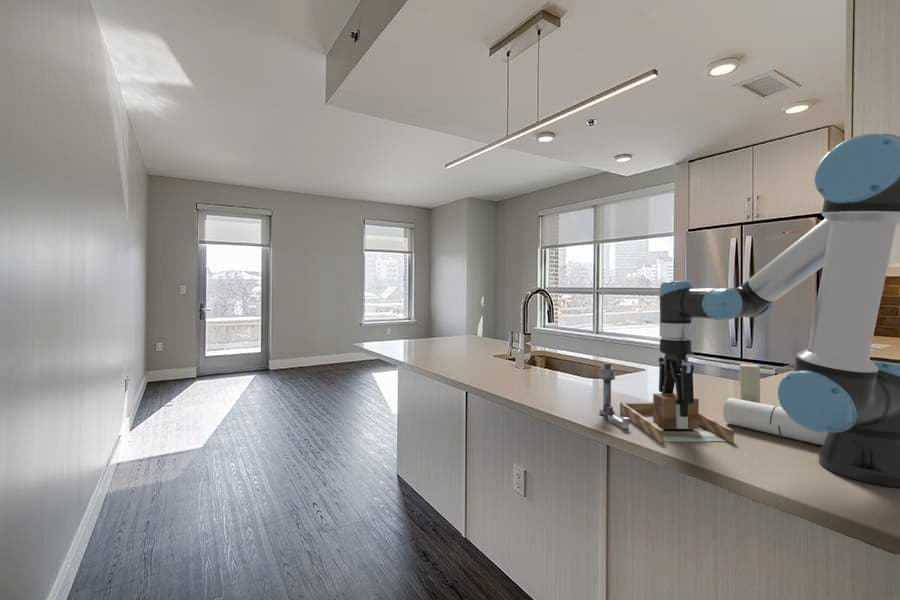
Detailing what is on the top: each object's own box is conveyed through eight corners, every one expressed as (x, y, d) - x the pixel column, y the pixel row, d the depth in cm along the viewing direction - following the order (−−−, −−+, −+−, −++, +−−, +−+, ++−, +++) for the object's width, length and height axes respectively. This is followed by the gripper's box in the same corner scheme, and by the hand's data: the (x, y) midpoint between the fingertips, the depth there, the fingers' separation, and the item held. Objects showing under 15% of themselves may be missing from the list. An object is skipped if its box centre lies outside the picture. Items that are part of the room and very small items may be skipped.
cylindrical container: (725, 428, 117) (846, 457, 96) (721, 404, 115) (844, 429, 95) (736, 416, 121) (855, 442, 100) (733, 393, 119) (853, 415, 99)
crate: (698, 429, 111) (698, 398, 111) (663, 429, 111) (663, 398, 111) (685, 422, 117) (686, 393, 117) (653, 422, 117) (653, 393, 117)
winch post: (617, 416, 125) (617, 364, 125) (602, 416, 125) (602, 364, 125) (611, 411, 130) (611, 361, 129) (597, 412, 130) (597, 362, 129)
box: (759, 404, 136) (759, 364, 136) (760, 408, 132) (760, 367, 132) (739, 402, 139) (739, 363, 139) (739, 405, 135) (740, 365, 135)
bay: (733, 442, 104) (733, 430, 104) (659, 442, 104) (660, 430, 104) (679, 412, 129) (679, 402, 129) (620, 412, 129) (620, 402, 129)
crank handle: (631, 429, 114) (631, 416, 113) (624, 430, 113) (624, 416, 113) (610, 418, 124) (610, 405, 124) (604, 418, 123) (604, 406, 123)
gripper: (710, 342, 104) (710, 436, 105) (671, 334, 123) (671, 413, 124) (679, 343, 104) (679, 436, 105) (645, 334, 123) (645, 413, 124)
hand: (675, 423), depth 114 cm, fingers closed on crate, 6 cm apart
